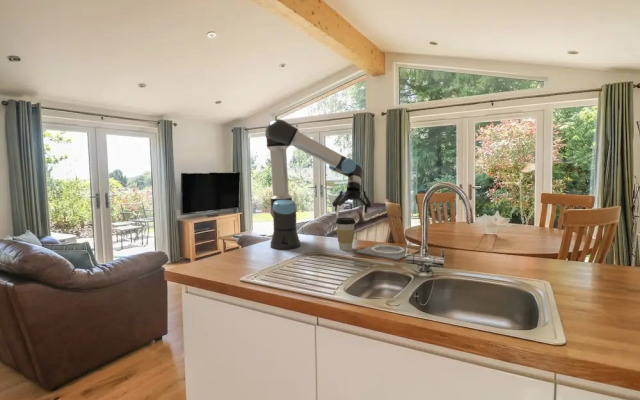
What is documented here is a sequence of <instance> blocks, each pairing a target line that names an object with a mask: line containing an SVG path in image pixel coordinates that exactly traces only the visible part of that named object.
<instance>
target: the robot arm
mask: <svg viewBox="0 0 640 400" xmlns="http://www.w3.org/2000/svg"><path fill="white" fill-rule="evenodd" d="M265 139H266V147H267V149H268V150H269V154H270V167H271V184H272V185H271V186H272V196H271V197H270V198H269V199H270V208H269V209H270V210H269V211H270V215H271V217H272V219H273V234H272V237H271V240H270V248H273V249H276V250H292V249H297V248H299V247H301V240H300V237H299V235H298V232H297V203H296V201H294V200H293V199H292V197H293V196H291V194H290V193H289V177H288V159H287V150H288V148H289V147H291V146H293V147H295V148H297V149H298V150H300V151H302V152H304V153H306V154H308V155H309V156H312V157H314V158H315V159H318V160H319V161H321V162H323V163H325V164H326V165H328V168H329V169H330V170H332V171H333V172H336V173H338V174H341V175H343V176H344V177H345V176H346V177H347V185H346V191H343V190H341V191H339V194H338V195H337V197H336V198H335V199H334V200H333V202H332V206H333V207H334V212H335V217H336V219H338V218H339V215H340V209H341V208H340V207H341V206H342V205H343V204H344V203H345V202H348V201H358V202H359V203H360V204H361V205H362V215H361V216H362V219H365V215H366V213H368V208H371V207H372V204H371V203H372V202H371V201H370V200H369V197H368V196H367V193H366V191H365V190H363V191H362V192H361V189H362V179H363V173H364V171H363V169H364V168H363V167H364V166H363V165H362V163H360V162H359V161H357V162H356V161H354V160H353V159H351V158H348V157H346V156H344V155H342V154H340V153H338V152H337V151H335V150H334V149H331V148H329V147H328V146H326V145H324V144H323V143H320V142H318V141H317V140H314V139H313V138H311V137H309V136H307V135H306V134H303V133H301V132H300V131H299V129H298V128H297V127H295V126H293V125H292V124H291V123H289V122H287V121H285V120H284V119H281V118H280V119H274V120H272V121H271V122H269V123H268V125H267V127H266V129H265ZM361 197H363V199H364V200H363V199H362V198H361Z"/></svg>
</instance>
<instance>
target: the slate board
mask: <svg viewBox="0 0 640 400" xmlns="http://www.w3.org/2000/svg"><path fill="white" fill-rule="evenodd" d="M406 248H407V246H406V247H404V246H399V245H393V244H392V245H391V244H386V243H377V244H373V245H371V246H369V247H365V248H362V249H359V250H355V253H356V254H360V255H366V256H372V257H376V258H377V257H378V258H383V259H388V260H392V261H400V260H402V259H405V258H404V256H405V254H406Z"/></svg>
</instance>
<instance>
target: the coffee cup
mask: <svg viewBox="0 0 640 400" xmlns="http://www.w3.org/2000/svg"><path fill="white" fill-rule="evenodd" d="M335 224H336V225H335V226H336V236H337V241H338V247H339V249H338V250H339V251H343V252H344V251H352V250H353V243H354V238H355V237H354V235H355V224H356V221H355V218H354V217H338V218H336V221H335Z"/></svg>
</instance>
